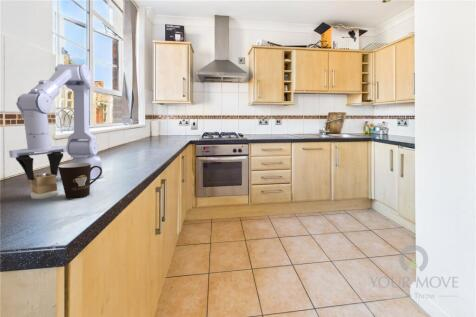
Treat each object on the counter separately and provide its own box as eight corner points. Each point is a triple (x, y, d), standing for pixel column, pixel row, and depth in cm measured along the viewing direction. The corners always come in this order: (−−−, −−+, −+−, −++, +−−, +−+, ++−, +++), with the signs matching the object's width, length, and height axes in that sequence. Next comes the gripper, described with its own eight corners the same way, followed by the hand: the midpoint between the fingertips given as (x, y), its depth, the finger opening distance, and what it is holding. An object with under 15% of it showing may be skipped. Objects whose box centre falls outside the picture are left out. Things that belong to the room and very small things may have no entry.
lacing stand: (54, 191, 87) (53, 187, 87) (61, 195, 83) (61, 190, 83) (28, 196, 82) (27, 191, 82) (35, 200, 77) (34, 195, 77)
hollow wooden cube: (49, 188, 86) (47, 173, 85) (57, 190, 83) (55, 175, 82) (31, 191, 81) (29, 176, 80) (39, 194, 79) (37, 178, 78)
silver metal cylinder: (46, 190, 83) (44, 171, 82) (48, 191, 82) (46, 172, 81) (40, 191, 82) (37, 172, 81) (42, 192, 81) (39, 173, 80)
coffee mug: (59, 201, 76) (56, 168, 75) (63, 194, 84) (60, 163, 82) (104, 196, 82) (101, 165, 80) (103, 189, 89) (101, 161, 88)
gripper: (56, 132, 88) (60, 172, 90) (1, 134, 75) (8, 180, 77) (68, 133, 84) (72, 174, 86) (13, 135, 72) (19, 183, 74)
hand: (42, 177), depth 81 cm, fingers open, 6 cm apart
